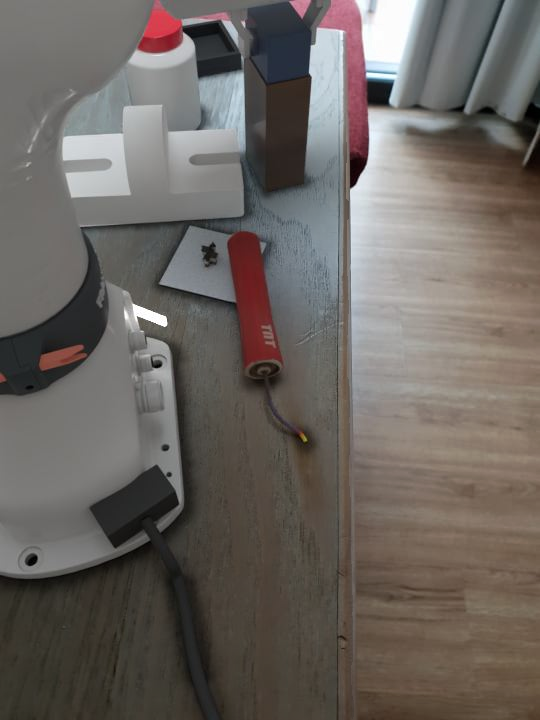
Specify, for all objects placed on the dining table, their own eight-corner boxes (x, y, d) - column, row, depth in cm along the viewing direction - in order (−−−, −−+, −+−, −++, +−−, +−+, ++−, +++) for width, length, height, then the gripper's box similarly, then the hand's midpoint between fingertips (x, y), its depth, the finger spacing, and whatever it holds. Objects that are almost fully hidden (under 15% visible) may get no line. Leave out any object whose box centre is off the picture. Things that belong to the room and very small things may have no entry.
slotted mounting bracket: (71, 165, 66) (47, 89, 59) (237, 155, 67) (234, 80, 60) (63, 228, 61) (36, 153, 53) (244, 216, 62) (242, 141, 55)
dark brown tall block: (304, 183, 65) (312, 76, 55) (265, 192, 64) (266, 85, 54) (282, 147, 68) (286, 40, 58) (245, 155, 67) (243, 48, 57)
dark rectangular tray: (241, 69, 77) (241, 52, 75) (192, 78, 75) (191, 62, 74) (221, 35, 81) (220, 19, 79) (174, 43, 80) (172, 27, 78)
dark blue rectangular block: (308, 76, 55) (312, 31, 52) (267, 84, 54) (267, 39, 51) (285, 42, 58) (286, -3, 55) (245, 49, 57) (244, 4, 54)
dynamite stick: (219, 248, 57) (246, 446, 47) (235, 225, 55) (267, 427, 44) (261, 259, 59) (296, 450, 49) (278, 237, 57) (318, 433, 47)
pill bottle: (198, 141, 69) (189, 44, 59) (129, 139, 69) (109, 42, 59) (204, 100, 73) (196, 4, 64) (139, 98, 73) (122, 2, 64)
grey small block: (241, 304, 55) (240, 290, 54) (158, 284, 56) (155, 270, 55) (266, 243, 60) (267, 229, 58) (189, 226, 61) (188, 211, 59)
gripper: (150, -108, 40) (174, 89, 51) (428, -142, 44) (393, 47, 55) (128, -142, 43) (156, 50, 55) (389, -171, 47) (363, 13, 59)
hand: (277, 48), depth 55 cm, fingers closed on dark blue rectangular block, 4 cm apart
